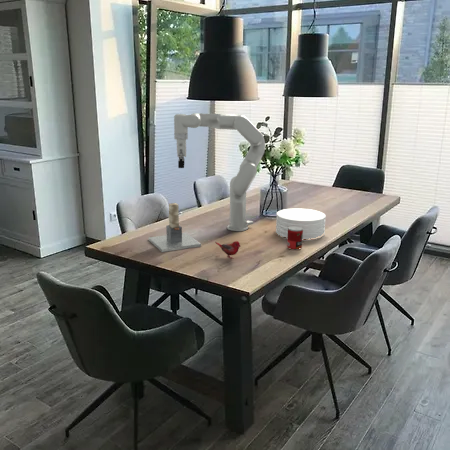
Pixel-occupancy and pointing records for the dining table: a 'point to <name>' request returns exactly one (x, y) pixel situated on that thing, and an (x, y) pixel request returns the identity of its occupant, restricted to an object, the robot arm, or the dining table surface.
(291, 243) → the canned food
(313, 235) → the plate stack
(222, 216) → the dining table surface
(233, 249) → the decorative bird figurine
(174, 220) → the ash post
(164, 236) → the metal stand
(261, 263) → the dining table surface
